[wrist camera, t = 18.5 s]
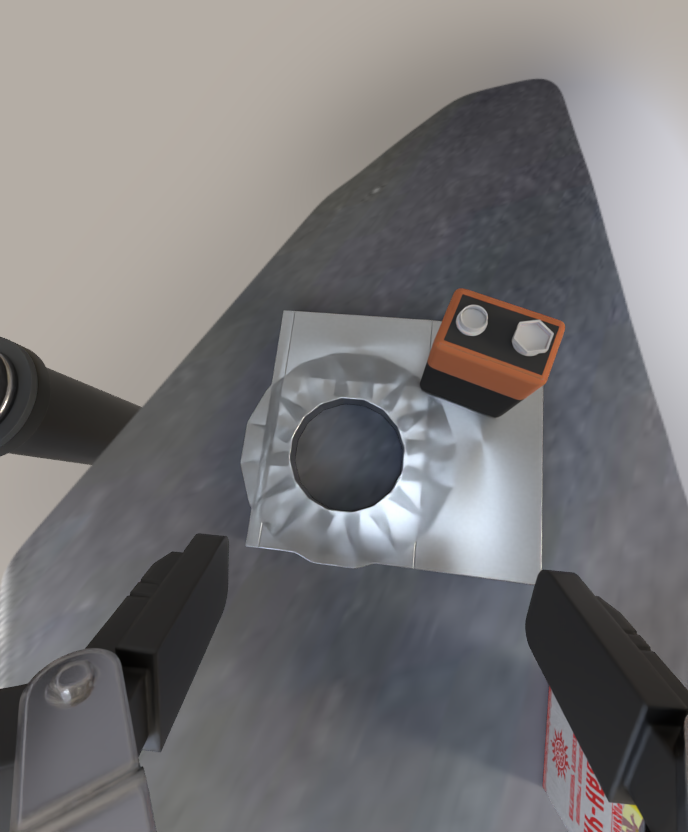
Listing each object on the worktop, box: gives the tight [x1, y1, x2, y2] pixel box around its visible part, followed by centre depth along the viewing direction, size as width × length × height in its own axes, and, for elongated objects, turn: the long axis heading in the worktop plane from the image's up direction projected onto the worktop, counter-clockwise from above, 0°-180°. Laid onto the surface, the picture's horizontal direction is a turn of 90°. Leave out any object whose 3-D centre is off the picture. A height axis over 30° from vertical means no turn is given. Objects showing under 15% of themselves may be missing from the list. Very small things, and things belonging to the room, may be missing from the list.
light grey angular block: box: [543, 686, 643, 832], centre depth 23 cm, size 4×7×10 cm, turn 170°
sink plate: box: [240, 310, 543, 585], centre depth 32 cm, size 24×21×2 cm
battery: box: [420, 288, 565, 418], centre depth 27 cm, size 4×7×10 cm, turn 66°
